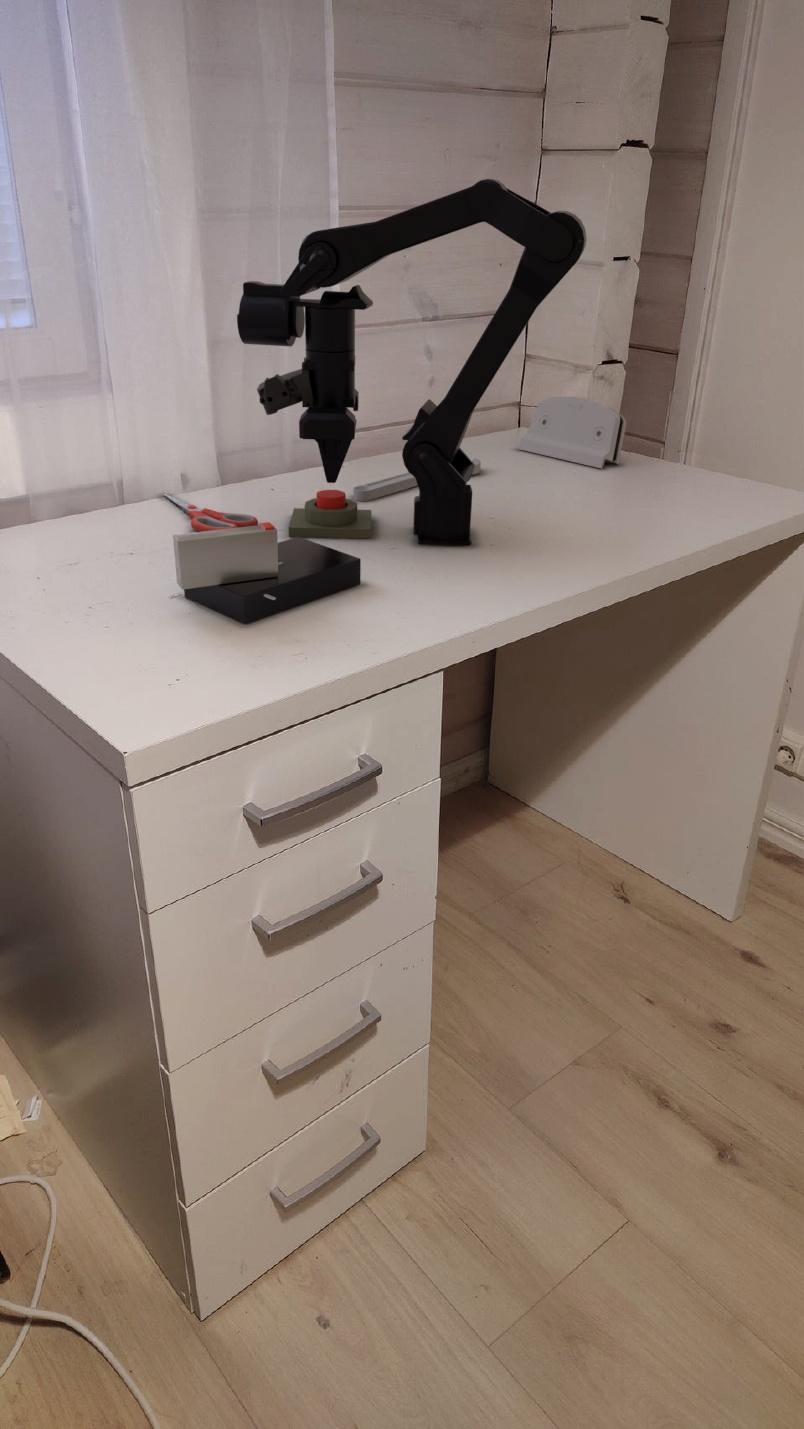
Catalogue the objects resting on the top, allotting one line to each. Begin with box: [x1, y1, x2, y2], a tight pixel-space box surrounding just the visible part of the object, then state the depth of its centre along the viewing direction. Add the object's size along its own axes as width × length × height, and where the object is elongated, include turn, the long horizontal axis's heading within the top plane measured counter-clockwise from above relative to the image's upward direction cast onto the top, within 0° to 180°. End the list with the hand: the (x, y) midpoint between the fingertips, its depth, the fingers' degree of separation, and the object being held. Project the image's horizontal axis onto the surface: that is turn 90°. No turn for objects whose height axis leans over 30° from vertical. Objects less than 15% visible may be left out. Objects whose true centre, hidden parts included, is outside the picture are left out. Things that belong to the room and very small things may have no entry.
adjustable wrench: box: [352, 458, 482, 502], centre depth 146 cm, size 25×6×2 cm, turn 133°
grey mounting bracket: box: [518, 396, 627, 469], centre depth 161 cm, size 17×5×10 cm, turn 46°
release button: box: [316, 489, 347, 509], centre depth 125 cm, size 4×4×2 cm
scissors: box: [162, 492, 259, 532], centre depth 129 cm, size 8×21×2 cm, turn 48°
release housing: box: [288, 497, 373, 539], centre depth 126 cm, size 10×8×3 cm
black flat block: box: [168, 537, 362, 625], centre depth 105 cm, size 14×22×3 cm, turn 137°
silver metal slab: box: [172, 521, 279, 591], centre depth 100 cm, size 10×2×5 cm, turn 115°
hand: (331, 482), depth 124 cm, fingers closed
